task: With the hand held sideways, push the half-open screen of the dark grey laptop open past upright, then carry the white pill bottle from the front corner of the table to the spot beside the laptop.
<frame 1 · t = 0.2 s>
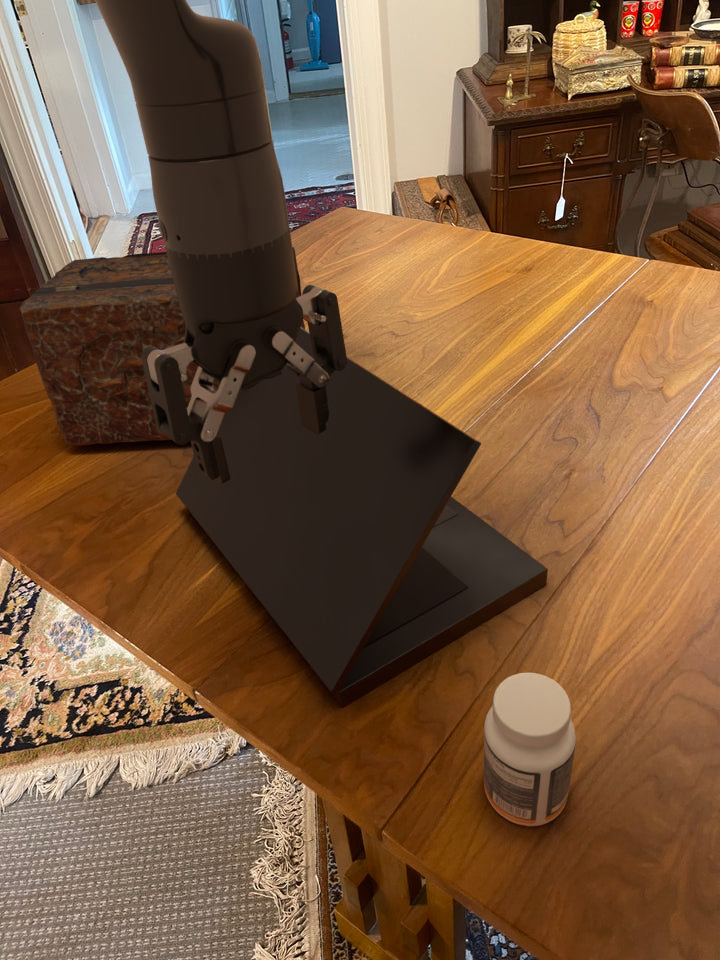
hand: (268, 452, 53), 19 cm above the table, tool pointing down, fingers open, 8 cm apart
laptop screen: (298, 473, 65), point 11 cm above the table, hinge at 50.0°
decorative box: (198, 413, 97), on the table
pill bottle: (524, 791, 51), on the table
laptop: (349, 543, 73), on the table
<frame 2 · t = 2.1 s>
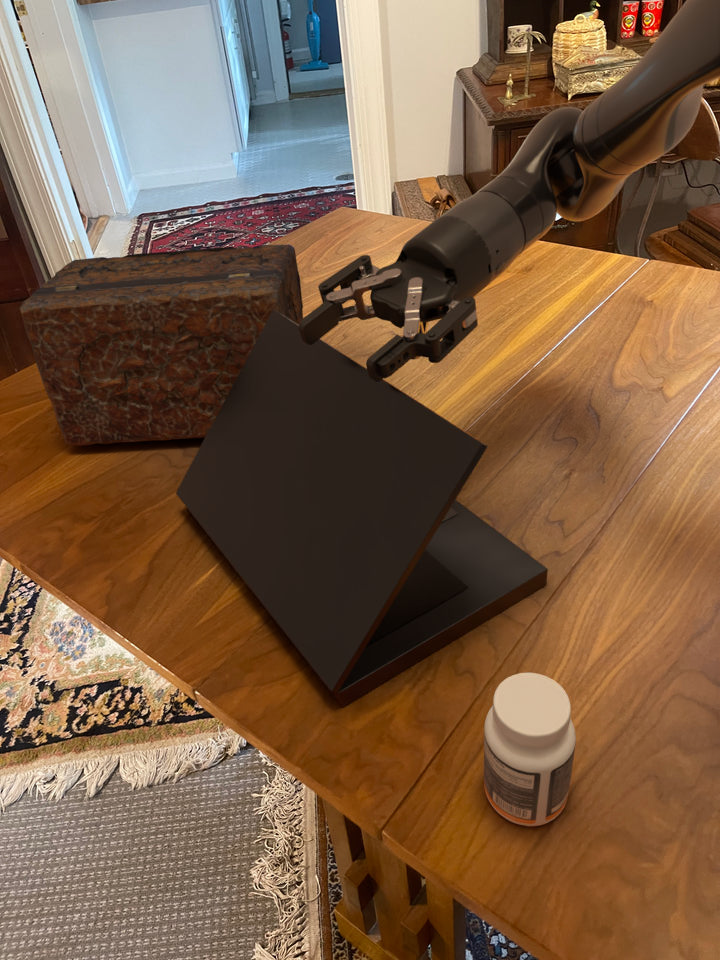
hand: (335, 353, 61), 21 cm above the table, tool horizontal, fingers open, 8 cm apart
laptop screen: (301, 474, 65), point 10 cm above the table, hinge at 47.9°
everything else where it was.
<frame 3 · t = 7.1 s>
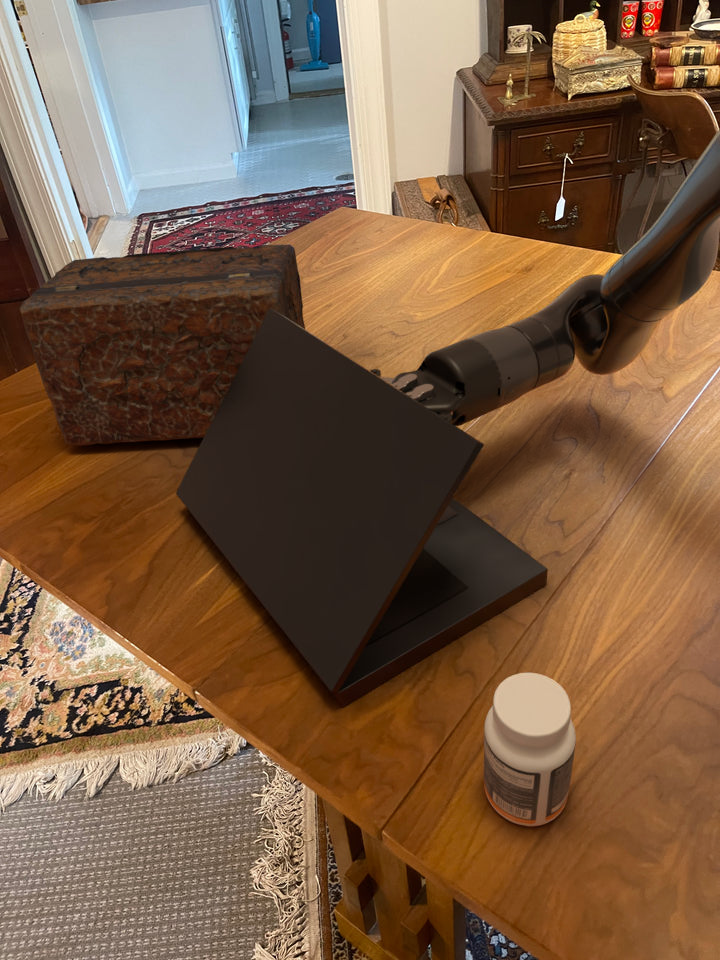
hand: (328, 438, 65), 13 cm above the table, tool horizontal, fingers closed
laptop screen: (299, 473, 65), point 11 cm above the table, hinge at 49.1°, touching gripper
everything else where it was.
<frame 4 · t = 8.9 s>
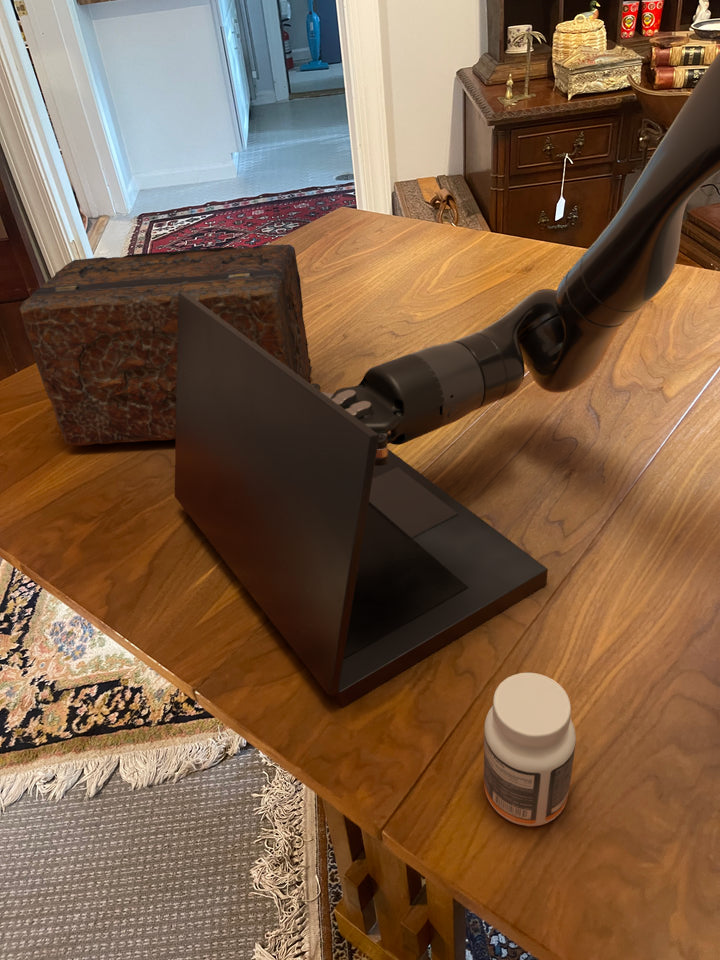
hand: (257, 457, 62), 14 cm above the table, tool horizontal, fingers closed
laptop screen: (251, 473, 62), point 13 cm above the table, hinge at 74.9°, touching gripper
everything else where it was.
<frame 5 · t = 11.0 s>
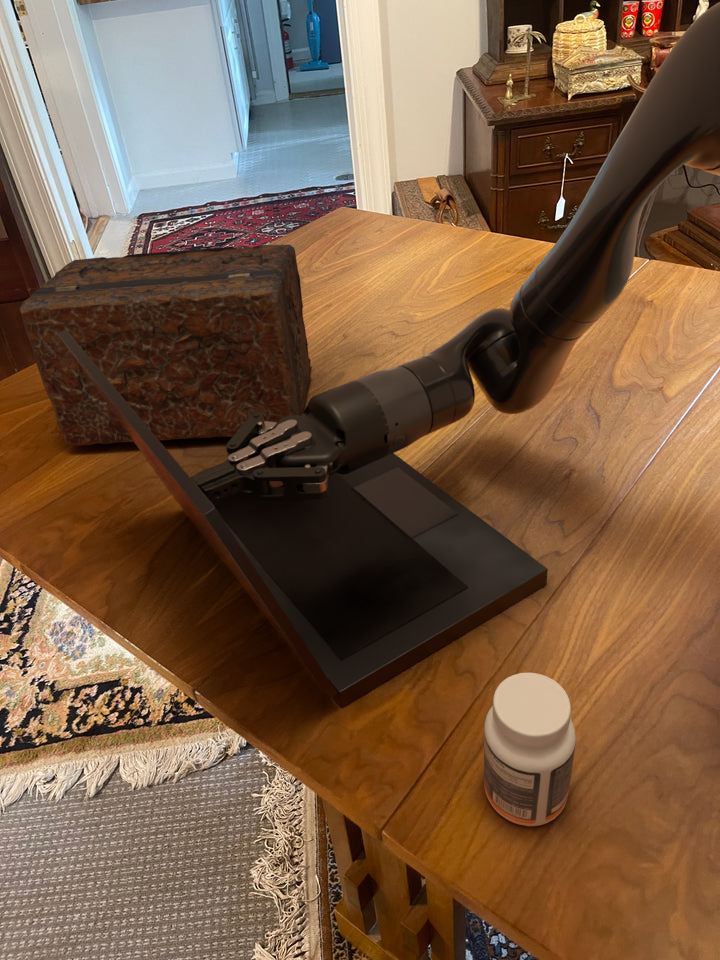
hand: (193, 493, 60), 13 cm above the table, tool horizontal, fingers closed
laptop screen: (189, 502, 60), point 13 cm above the table, hinge at 104.8°
everything else where it was.
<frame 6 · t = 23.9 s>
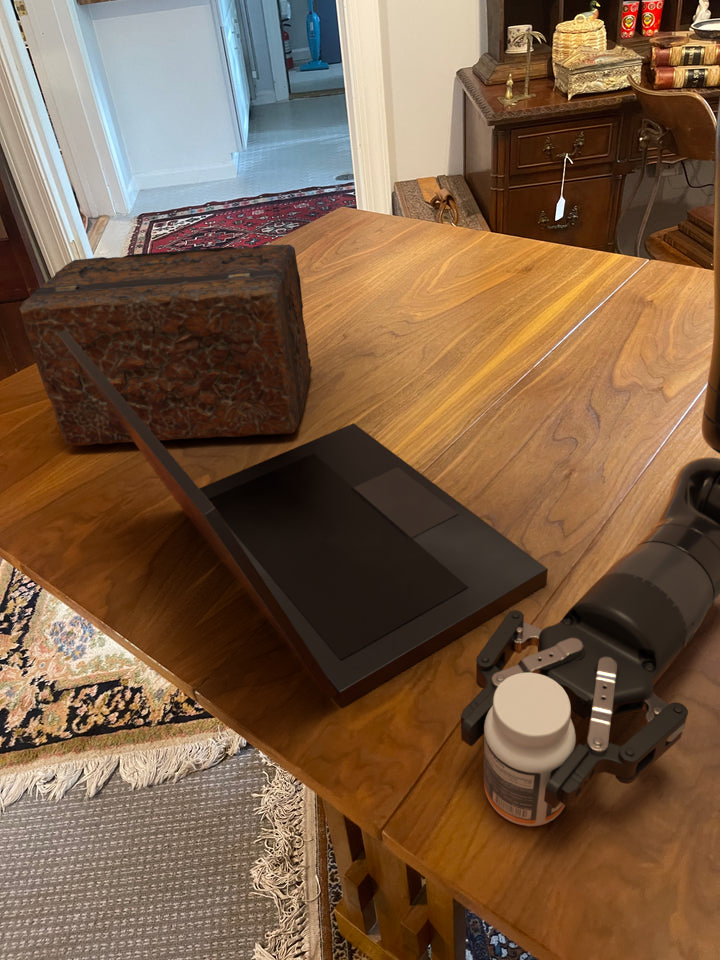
hand: (506, 765, 46), 6 cm above the table, tool horizontal, fingers closed on pill bottle, 5 cm apart
pill bottle: (524, 791, 51), on the table, touching gripper
everything else where it was.
when the fingers open (6 cm above the table, at t = 34.1 s): pill bottle stays where it is, on the table.
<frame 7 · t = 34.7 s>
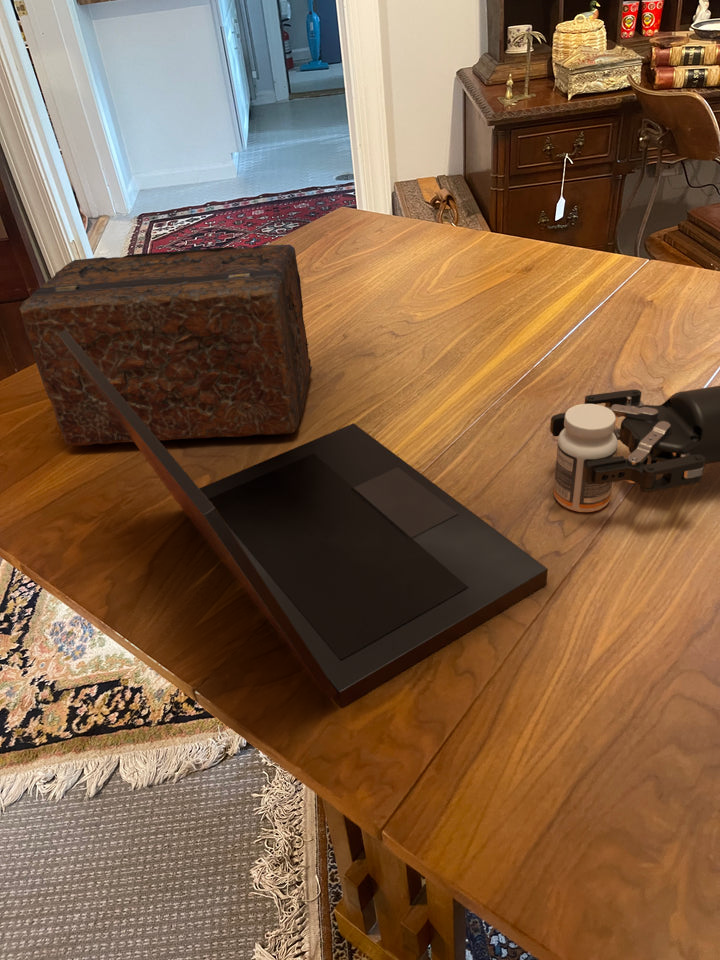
hand: (567, 449, 72), 6 cm above the table, tool horizontal, fingers open, 8 cm apart
pill bottle: (581, 498, 76), on the table
everything else where it was.
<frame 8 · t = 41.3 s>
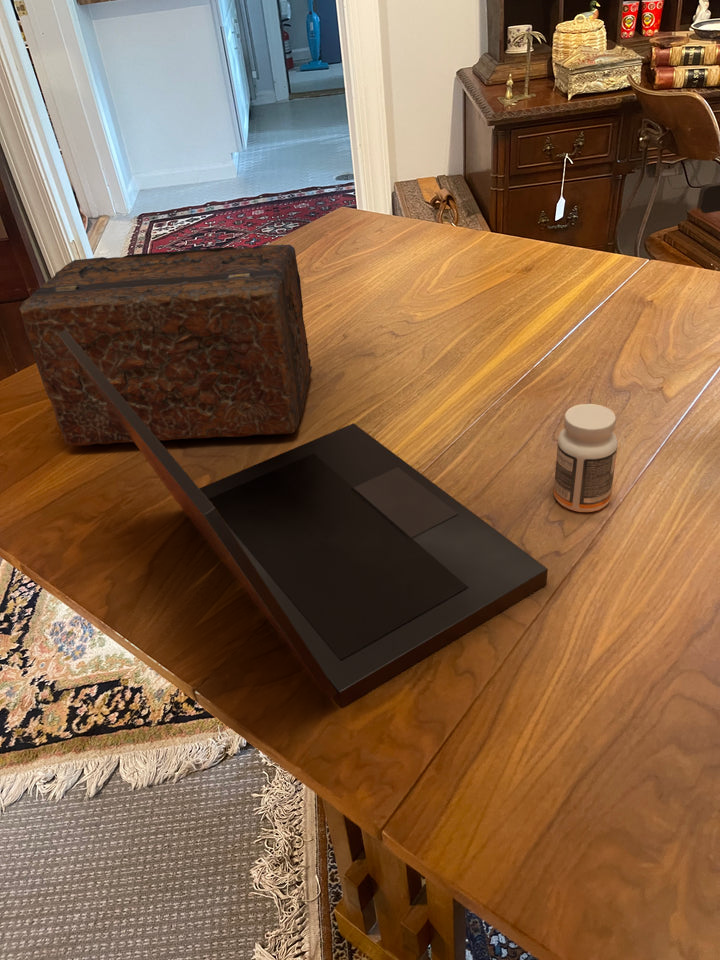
nothing on the table moved.
at the end: laptop screen at +105° (first picture: +50°); pill bottle inside the target area (0.1 cm from its centre), on the table; pill bottle tilted 0° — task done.
